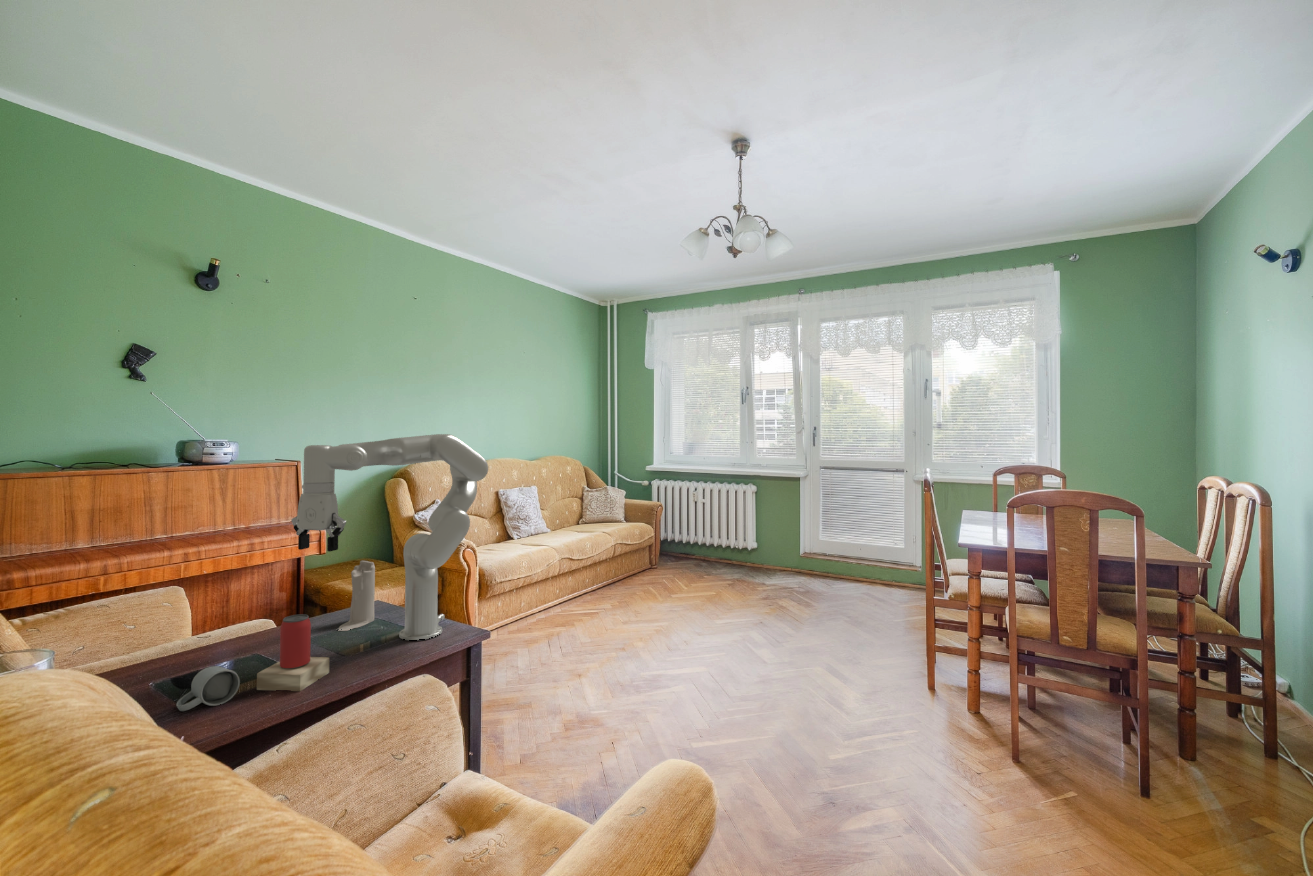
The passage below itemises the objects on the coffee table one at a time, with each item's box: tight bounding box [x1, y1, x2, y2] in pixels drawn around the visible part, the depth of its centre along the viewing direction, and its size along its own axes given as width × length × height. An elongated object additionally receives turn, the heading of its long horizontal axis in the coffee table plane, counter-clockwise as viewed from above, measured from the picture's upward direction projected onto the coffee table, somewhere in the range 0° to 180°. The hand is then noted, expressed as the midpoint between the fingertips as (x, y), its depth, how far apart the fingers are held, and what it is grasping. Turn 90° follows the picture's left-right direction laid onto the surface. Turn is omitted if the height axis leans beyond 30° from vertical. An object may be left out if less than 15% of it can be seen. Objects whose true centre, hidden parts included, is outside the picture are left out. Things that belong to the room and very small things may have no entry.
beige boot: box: [337, 560, 376, 632], centre depth 185 cm, size 7×14×20 cm, turn 170°
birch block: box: [256, 656, 330, 692], centre depth 141 cm, size 11×11×4 cm
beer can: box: [279, 613, 312, 669], centre depth 142 cm, size 7×7×12 cm
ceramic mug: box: [175, 665, 241, 712], centre depth 129 cm, size 11×8×8 cm
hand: (318, 549), depth 157 cm, fingers open, 9 cm apart
